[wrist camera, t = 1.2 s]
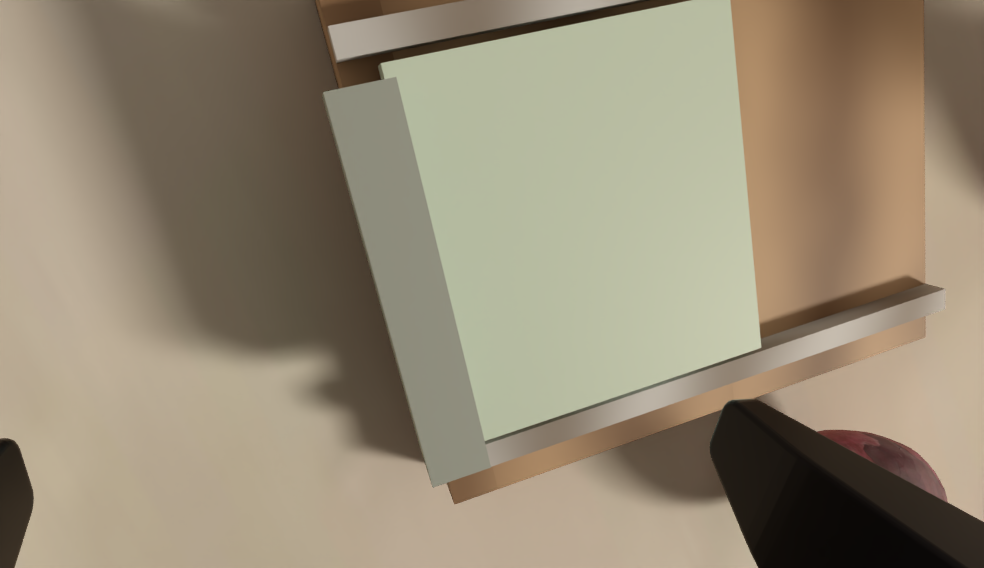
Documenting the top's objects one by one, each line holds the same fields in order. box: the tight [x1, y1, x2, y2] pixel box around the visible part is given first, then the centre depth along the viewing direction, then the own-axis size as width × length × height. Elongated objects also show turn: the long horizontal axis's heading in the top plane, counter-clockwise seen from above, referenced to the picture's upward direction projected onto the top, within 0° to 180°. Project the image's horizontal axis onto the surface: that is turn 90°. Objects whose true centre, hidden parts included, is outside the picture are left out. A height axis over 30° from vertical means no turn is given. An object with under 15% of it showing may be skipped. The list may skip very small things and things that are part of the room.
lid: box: [322, 0, 761, 487], centre depth 17 cm, size 12×11×3 cm
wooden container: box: [315, 0, 945, 504], centre depth 20 cm, size 19×16×3 cm
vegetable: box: [818, 430, 948, 503], centre depth 22 cm, size 6×6×10 cm
